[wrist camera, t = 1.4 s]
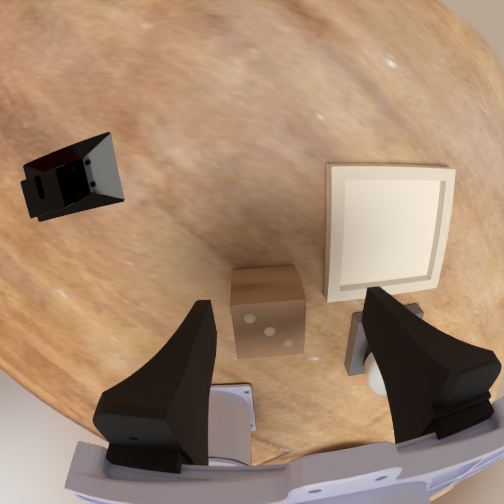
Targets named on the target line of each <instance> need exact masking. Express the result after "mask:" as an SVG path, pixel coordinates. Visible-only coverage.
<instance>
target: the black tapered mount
mask: <svg viewBox="0 0 504 504" xmlns="http://www.w3.org/2000/svg"><path fill="white" fill-rule="evenodd" d="M23 168H24V172H25V176H26V179H25V180H23V181H21V182H20V183H21V187H22V190H23V194H24V198H25V201H26V205H27V208H28V211H29V215H30V218H34V217H37V218H38V221H39V222H42V221H45V220H49V219H53V218H57V217H60V216H64V215H68V214H72V213H76V212H80V211H84V210H89V209H93V208H97V207H101V206H106V205H110V204H115V203H119V202H123V201H124V195H123V191H122V186H121V182H120V177H119V173H118V168H117V163H116V158H115V153H114V148H113V143H112V137H111V133H110V132H107V133H104V134H101V135H98V136H95V137H92V138H89V139H86V140H84V141H81V142H78V143H75V144H73V145H70V146H67V147H65V148H62V149H60V150H57V151H55V152H52V153H50V154H48V155H45V156H43V157H41V158H38V159H36V160H34V161H31V162H29V163H27V164H25V165H24V166H23Z"/></svg>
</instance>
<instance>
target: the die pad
mask: <svg viewBox="0 0 504 504" xmlns="http://www.w3.org/2000/svg"><path fill="white" fill-rule="evenodd" d="M455 171H456V169H453V168H450V167H447V166H438V165H419V164H390V163H327V164H326V248H325V273H324V292H323V294H324V296H325V299H326V301H327V303H330V302H339V301H348V300H356V299H364V298H366V292H367V287H376V286H380V287H381V288H382V289H384V290H385V291H386V292H387V293H389V294H390V295H393V294H400V293H407V292H413V291H420V290H426V289H432V288H437V285H438V281H439V276H440V272H441V267H442V263H443V258H444V253H445V248H446V242H447V236H448V230H449V224H450V217H451V210H452V202H453V193H454V183H455Z"/></svg>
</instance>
